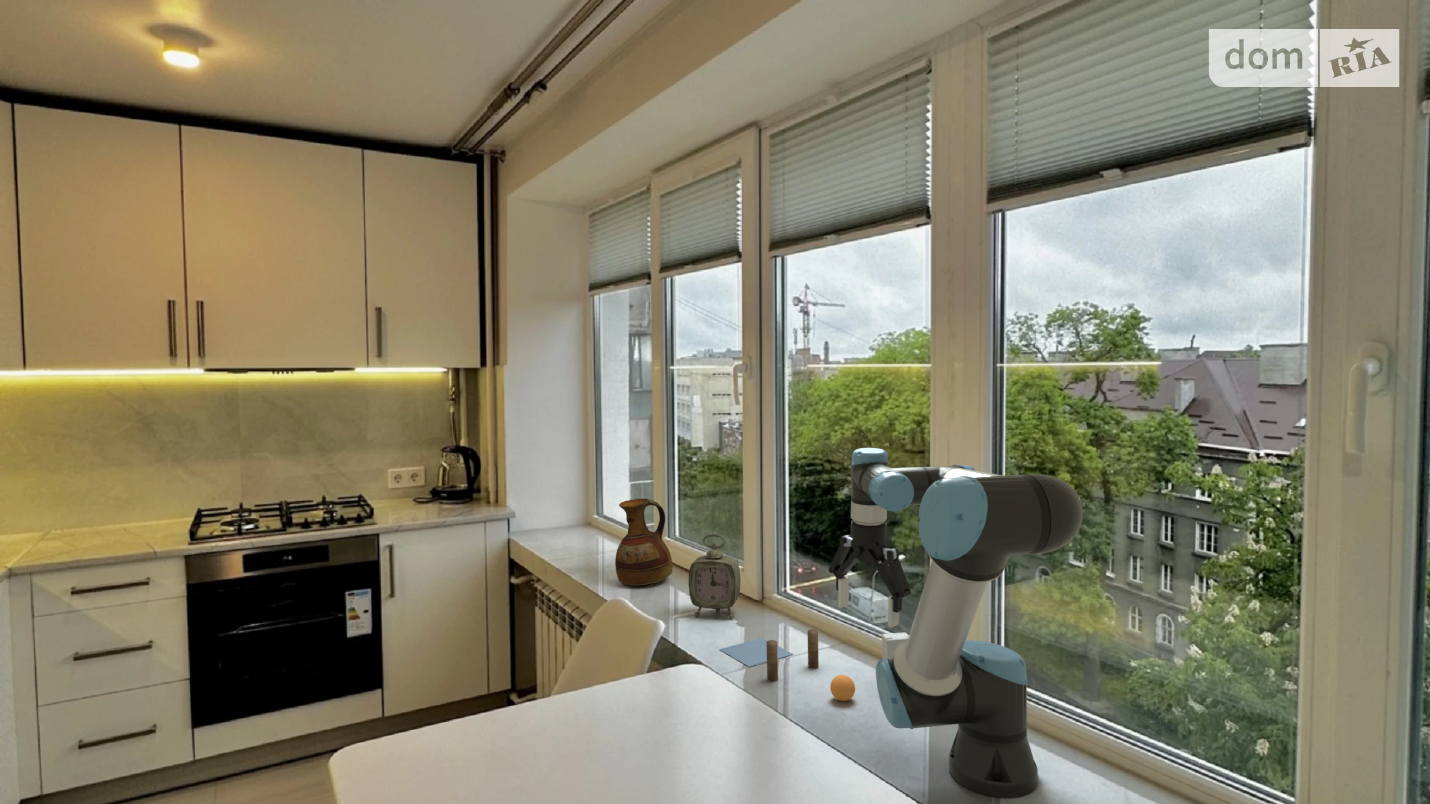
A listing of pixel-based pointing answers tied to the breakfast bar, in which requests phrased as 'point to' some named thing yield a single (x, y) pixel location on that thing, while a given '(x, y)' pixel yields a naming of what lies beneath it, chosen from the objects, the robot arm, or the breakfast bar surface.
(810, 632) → the right post
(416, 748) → the breakfast bar surface
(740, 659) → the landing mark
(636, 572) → the ceramic pitcher
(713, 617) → the breakfast bar surface
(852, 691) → the ball
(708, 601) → the tabletop clock
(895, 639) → the skincare box
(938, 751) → the breakfast bar surface
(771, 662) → the left post
